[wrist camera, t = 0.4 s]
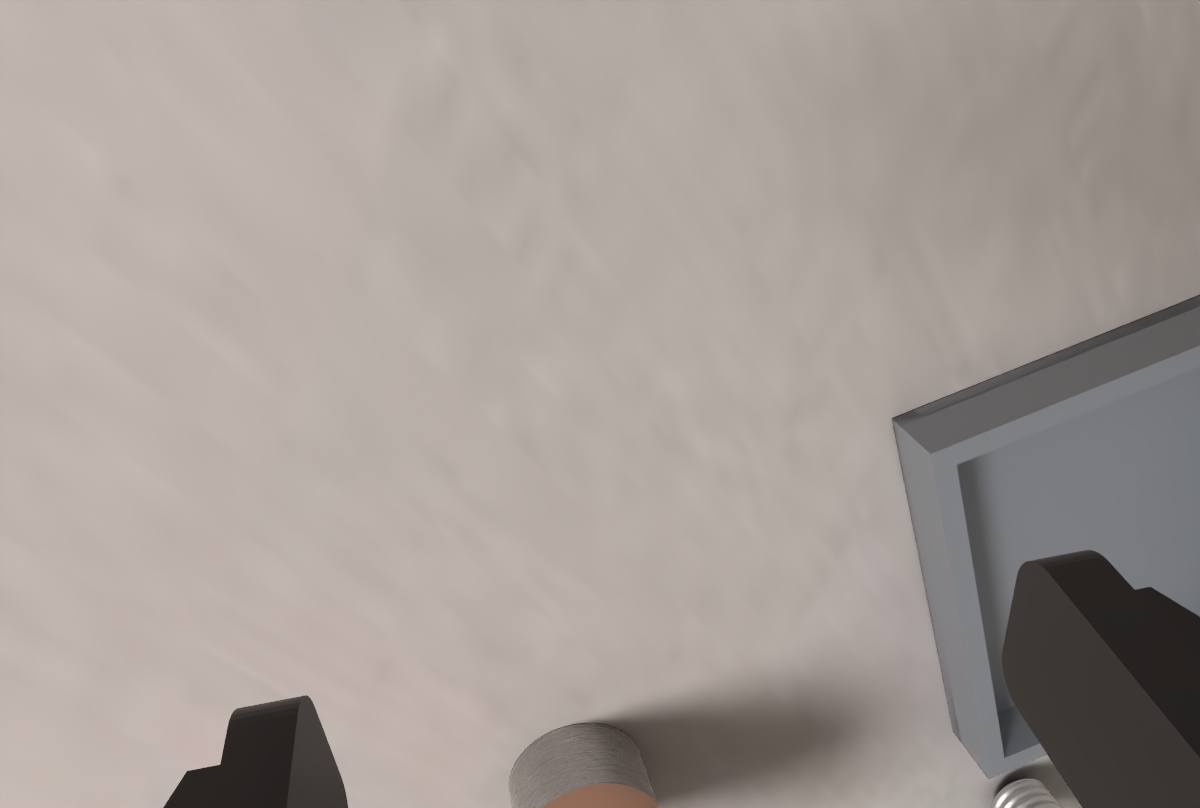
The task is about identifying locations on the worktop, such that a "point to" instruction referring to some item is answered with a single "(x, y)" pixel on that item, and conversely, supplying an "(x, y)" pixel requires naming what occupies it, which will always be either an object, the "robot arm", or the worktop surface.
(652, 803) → the tin can
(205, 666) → the worktop surface
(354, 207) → the worktop surface
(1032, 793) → the lightbulb
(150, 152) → the worktop surface
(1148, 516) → the tote
